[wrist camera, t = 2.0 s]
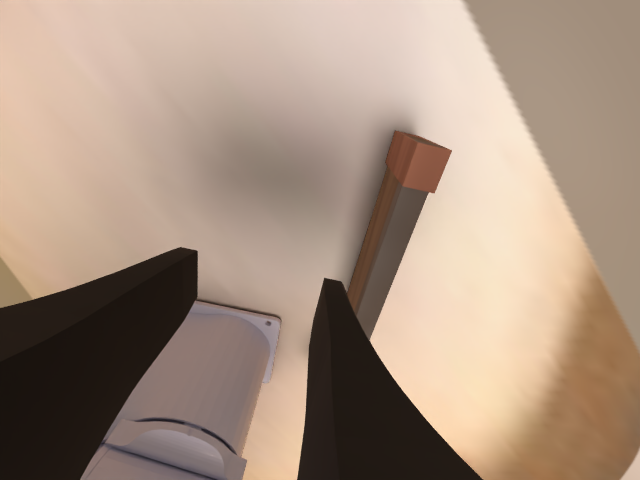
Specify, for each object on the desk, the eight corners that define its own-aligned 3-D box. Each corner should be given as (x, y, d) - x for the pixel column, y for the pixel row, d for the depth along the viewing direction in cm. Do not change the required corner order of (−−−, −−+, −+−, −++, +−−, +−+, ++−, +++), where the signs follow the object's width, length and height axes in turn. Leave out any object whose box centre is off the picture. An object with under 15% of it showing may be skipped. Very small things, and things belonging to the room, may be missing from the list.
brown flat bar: (328, 343, 23) (325, 404, 19) (394, 130, 16) (417, 142, 11) (345, 346, 23) (345, 408, 19) (418, 135, 16) (452, 150, 11)
